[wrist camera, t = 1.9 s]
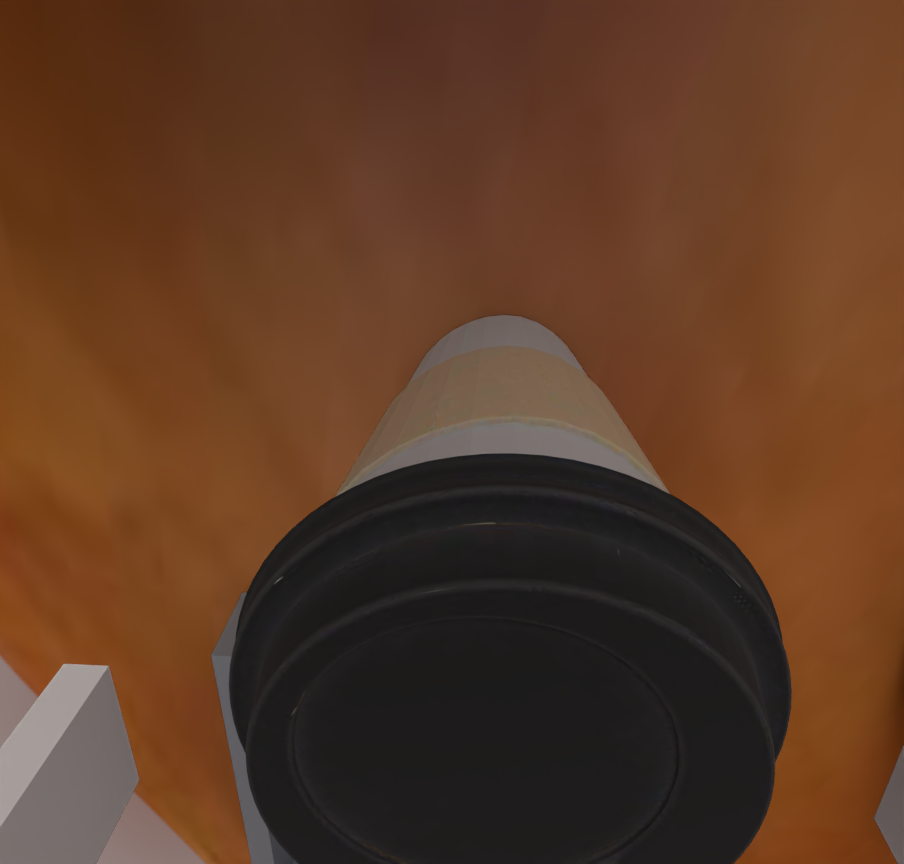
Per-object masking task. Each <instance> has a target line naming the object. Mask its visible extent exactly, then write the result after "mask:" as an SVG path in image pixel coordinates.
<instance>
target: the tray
mask: <svg viewBox="0 0 904 864" xmlns="http://www.w3.org/2000/svg"><path fill="white" fill-rule="evenodd" d="M246 594H247V592H242V594H241V596H240V598H239V600H238V602H237V604H236V606H235V608H234V610H233V612H232V614H231V616H230V618H229V621H228V623H227V625H226V627H225V629H224V631H223V633H222V635H221V637H220V639H219V641H218V643H217V645H216V647H215V649H214V651H213V653H212V655H211V657H212V662H213V667H214V672H215V677H216V682H217V687H218V693H219V698H220V703H221V708H222V713H223V718H224V723H225V729H226V734H227V739H228V744H229V749H230V754H231V759H232V765H233V770H234V775H235V780H236V785H237V790H238V796H239V801H240V806H241V811H242V816H243V821H244V826H245V832H246V837H247V842H248V847H249V852H250V857H251V862H252V864H297V863H296V862H295V861H294V860H293V859H292V858H291V857H290V856H289V855H288V854H287V852H286V851H285V850H284V849H283V848H282V847H281V846H280V845H279V843H278V842H277V841H276V839H275V838H274V836H273V835H272V834H271V832H270V831H269V829H268V828H267V826H266V824H265V823H264V821H263V819H262V817H261V816H260V813H259V811H258V809H257V807H256V804H255V802H254V799H253V796H252V793H251V790H250V786H249V781H248V775H247V768H246V754H245V752H244V750H243V747H242V745H241V743H240V740H239V738H238V734H237V731H236V728H235V725H234V721H233V716H232V711H231V706H230V696H229V671H230V662H231V657H232V651H233V647H234V644H235V639H236V630H237V625H238V619H239V615H240V612H241V608H242V605H243V602H244V599H245V596H246Z"/></svg>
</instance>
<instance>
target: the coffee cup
mask: <svg viewBox="0 0 904 864" xmlns="http://www.w3.org/2000/svg"><path fill="white" fill-rule="evenodd" d="M229 696H230V706H231V711H232V716H233V721H234V725H235V728H236V731H237V734H238V738H239V740H240V743H241V745H242V747H243V750H244V752H245V754H246V768H247V775H248V781H249V786H250V790H251V793H252V796H253V799H254V802H255V804H256V807H257V809H258V811H259V813H260V816H261V817H262V819H263V821H264V823H265V824H266V826H267V828H268V829H269V831H270V832H271V834H272V835H273V836H274V838H275V839H276V841H277V842H278V843H279V845H280V846H281V847H282V848H283V849H284V850H285V851H286V852H287V854H288V855H289V856H290V857H291V858H292V859H293V860H294V861H295V862H296V863H297V864H734V862H735V861H736V860H737V859H738V858H739V857H740V856H741V855H742V854H743V852H744V851H745V850H746V848H747V847H748V846H749V844H750V843H751V842H752V840H753V838H754V837H755V835H756V834H757V832H758V830H759V829H760V826H761V824H762V822H763V820H764V818H765V816H766V813H767V810H768V807H769V804H770V801H771V797H772V791H773V786H774V777H775V762H776V759H777V757H778V755H779V753H780V750H781V748H782V745H783V741H784V738H785V735H786V732H787V727H788V722H789V716H790V710H791V679H790V670H789V665H788V661H787V656H786V652H785V649H784V646H783V642H782V635H781V630H780V625H779V621H778V617H777V614H776V611H775V608H774V606H773V603H772V600H771V598H770V596H769V594H768V592H767V590H766V588H765V586H764V584H763V581H762V580H761V578H760V577H759V575H758V574H757V572H756V571H755V569H754V568H753V566H752V564H751V563H750V562H749V560H748V559H747V558H746V557H745V555H744V554H743V553H742V552H741V551H740V549H739V548H738V547H737V546H736V544H735V543H734V542H733V541H731V540H730V539H729V538H728V537H727V536H726V535H725V534H724V533H723V532H722V531H721V530H720V529H719V528H718V527H717V526H716V525H714V524H713V523H712V522H711V521H709V520H708V519H707V518H706V517H704V516H703V515H702V514H701V513H699V512H698V511H696V510H695V509H693V508H692V507H690V506H689V505H687V504H686V503H684V502H683V501H681V500H680V499H678V498H676V497H674V496H673V495H671V494H670V493H669V491H668V490H667V488H666V487H665V485H664V484H663V482H662V480H661V479H660V477H659V476H658V474H657V473H656V471H655V470H654V468H653V467H652V465H651V464H650V462H649V461H648V459H647V457H646V456H645V454H644V453H643V451H642V450H641V448H640V447H639V445H638V444H637V442H636V441H635V439H634V438H633V436H632V434H631V433H630V431H629V430H628V428H627V427H626V425H625V424H624V422H623V421H622V419H621V418H620V416H619V415H618V413H617V411H616V410H615V408H614V407H613V406H612V404H611V403H610V402H609V400H608V399H607V398H606V396H605V395H604V393H603V392H602V391H601V389H600V388H599V387H598V386H597V385H596V384H595V383H594V382H593V381H591V380H590V379H589V378H588V377H587V375H586V373H585V372H584V370H583V369H582V367H581V366H580V364H579V363H578V361H577V359H576V358H575V357H574V355H573V354H572V352H571V351H570V350H569V348H568V347H567V346H566V344H565V343H564V342H563V341H562V340H561V339H560V338H558V337H557V336H556V335H555V334H554V333H553V332H552V331H551V330H549V329H547V328H546V327H544V326H542V325H541V324H539V323H538V322H535V321H532V320H529V319H527V318H524V317H520V316H511V315H498V316H489V317H484V318H481V319H477V320H474V321H471V322H468V323H466V324H464V325H462V326H460V327H458V328H456V329H454V330H452V331H451V332H450V333H448V334H447V335H446V336H444V337H443V338H441V339H440V340H439V341H438V342H437V343H436V344H435V345H434V346H433V347H432V348H431V349H430V350H429V351H428V352H427V354H426V355H425V357H424V358H423V360H422V362H421V363H420V365H419V366H418V368H417V370H416V371H415V373H414V375H413V376H412V378H411V380H410V381H409V383H408V385H407V386H406V387H405V389H404V390H403V391H402V392H401V393H400V394H399V395H398V396H397V397H396V398H395V399H394V400H393V401H392V403H391V404H390V406H389V407H388V409H387V410H386V412H385V414H384V415H383V417H382V418H381V420H380V422H379V423H378V425H377V427H376V428H375V430H374V432H373V433H372V435H371V437H370V438H369V440H368V442H367V443H366V445H365V447H364V448H363V450H362V452H361V453H360V455H359V457H358V458H357V460H356V462H355V463H354V465H353V467H352V468H351V470H350V472H349V473H348V475H347V477H346V478H345V480H344V482H343V483H342V485H341V487H340V489H339V490H338V492H337V494H336V495H335V497H334V498H332V499H331V500H329V501H328V502H326V503H325V504H323V505H322V506H320V507H319V508H317V509H316V510H315V511H313V512H312V513H310V514H309V515H308V516H307V517H305V518H304V519H303V520H302V521H301V522H300V523H298V524H297V525H296V526H295V527H294V528H292V529H291V530H290V532H289V533H288V534H287V535H286V536H285V537H284V538H283V539H282V540H281V541H280V542H279V543H278V544H277V545H276V546H275V548H274V549H273V550H272V552H271V553H270V554H269V556H268V557H267V558H266V559H265V561H264V562H263V564H262V565H261V567H260V569H259V571H258V572H257V574H256V576H255V577H254V579H253V581H252V583H251V585H250V587H249V590H248V592H247V594H246V596H245V599H244V602H243V605H242V608H241V612H240V615H239V619H238V625H237V630H236V639H235V644H234V647H233V651H232V657H231V662H230V671H229Z"/></svg>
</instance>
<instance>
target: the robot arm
mask: <svg viewBox="0 0 904 864" xmlns="http://www.w3.org/2000/svg"><path fill="white" fill-rule="evenodd" d="M138 782H139V776H138V772H137V769H136V765H135V761H134V758H133V754H132V750H131V746H130V743H129V739H128V735H127V732H126V728H125V724H124V720H123V717H122V713H121V709H120V706H119V702H118V698H117V695H116V691H115V687H114V683H113V680H112V676H111V672H110V669H109V666H101V665H79V664H63V666H62V667H61V668H60V670H59V671H58V672H57V673H56V675H55V676H54V677H53V679H52V680H51V681H50V683H49V684H48V685H47V687H46V688H45V689H44V691H43V692H42V693H41V695H40V696H39V697H38V699H37V700H36V701H35V703H34V704H33V705H32V707H31V708H30V709H29V711H28V712H27V713H26V715H25V716H24V717H23V719H22V720H21V721H20V723H19V724H18V725H17V727H16V728H15V729H14V730H13V732H12V733H11V734H10V736H9V737H8V739H7V740H6V741H5V742H4V744H3V745H2V746H1V748H0V864H96V863H97V861H98V859H99V857H100V855H101V853H102V851H103V849H104V847H105V846H106V844H107V842H108V840H109V838H110V836H111V834H112V832H113V830H114V828H115V826H116V824H117V822H118V820H119V818H120V817H121V815H122V813H123V811H124V809H125V807H126V805H127V803H128V801H129V799H130V797H131V795H132V793H133V791H134V789H135V787H136V786H137V784H138ZM874 820H875V821H876V823H877V825H878V827H879V829H880V831H881V833H882V835H883V837H884V838H885V840H886V842H887V844H888V846H889V848H890V850H891V852H892V854H893V856H894V857H895V859H896V861H897V863H898V864H904V746H903V748H902V751H901V753H900V756H899V758H898V760H897V763H896V765H895V768H894V770H893V773H892V775H891V778H890V780H889V783H888V785H887V788H886V790H885V792H884V795H883V797H882V800H881V802H880V805H879V807H878V810H877V812H876V815H875V817H874Z"/></svg>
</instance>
